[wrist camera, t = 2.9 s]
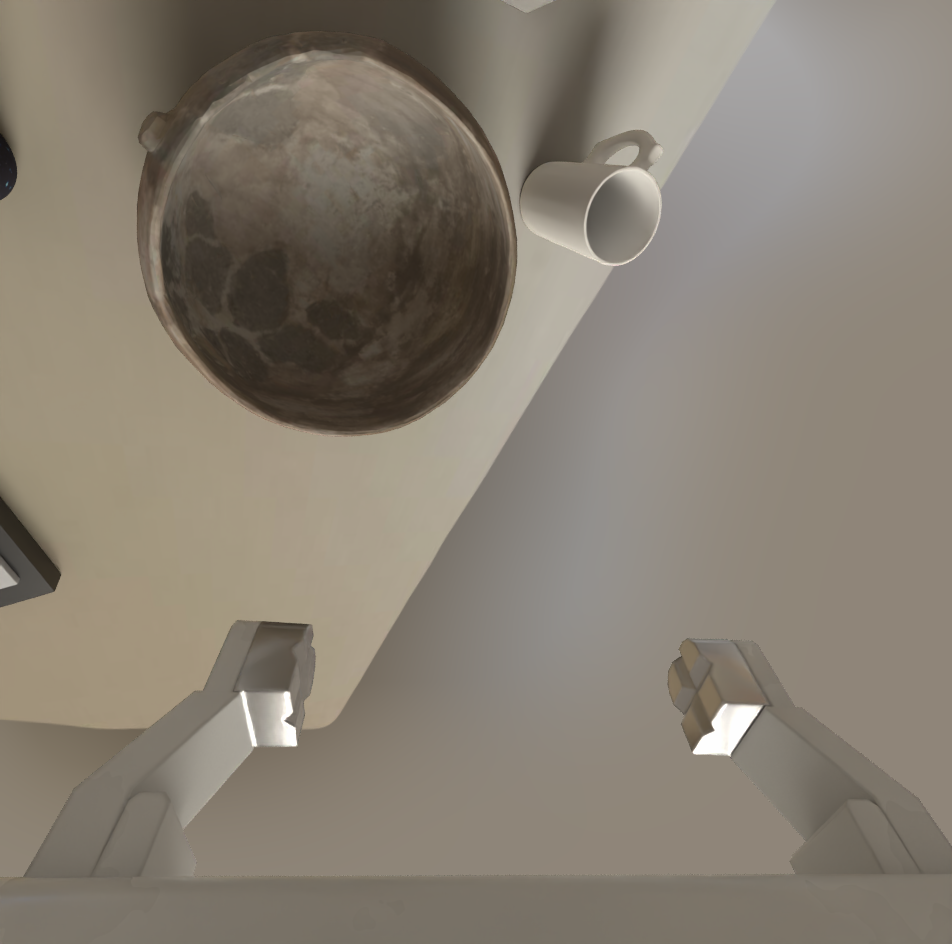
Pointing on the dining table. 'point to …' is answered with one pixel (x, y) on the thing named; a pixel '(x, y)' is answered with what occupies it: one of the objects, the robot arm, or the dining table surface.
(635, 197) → the mug
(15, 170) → the beverage can
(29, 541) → the scale
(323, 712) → the dining table surface
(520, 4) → the toilet tissue
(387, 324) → the bowl
